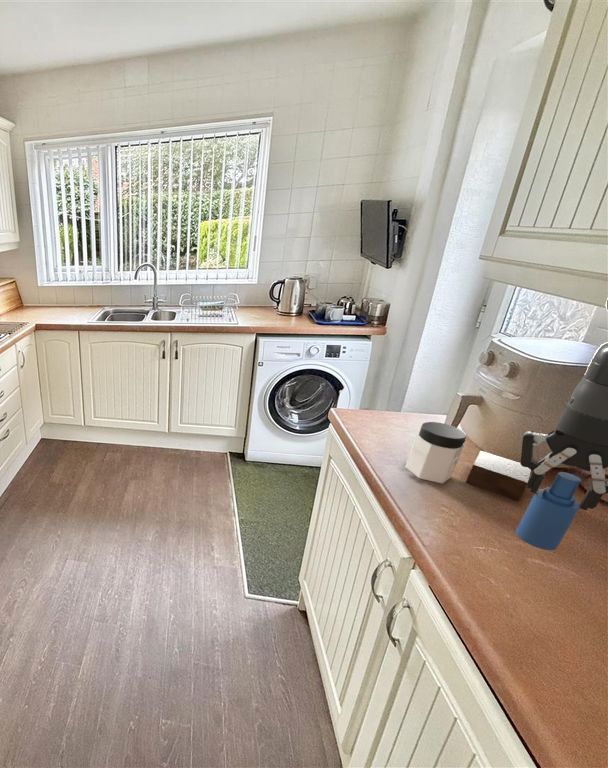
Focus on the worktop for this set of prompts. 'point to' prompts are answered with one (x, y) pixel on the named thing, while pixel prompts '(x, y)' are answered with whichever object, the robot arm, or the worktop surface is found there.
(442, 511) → the worktop surface
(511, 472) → the block
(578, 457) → the robot arm
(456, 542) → the worktop surface
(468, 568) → the worktop surface
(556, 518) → the bottle
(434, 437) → the jar
